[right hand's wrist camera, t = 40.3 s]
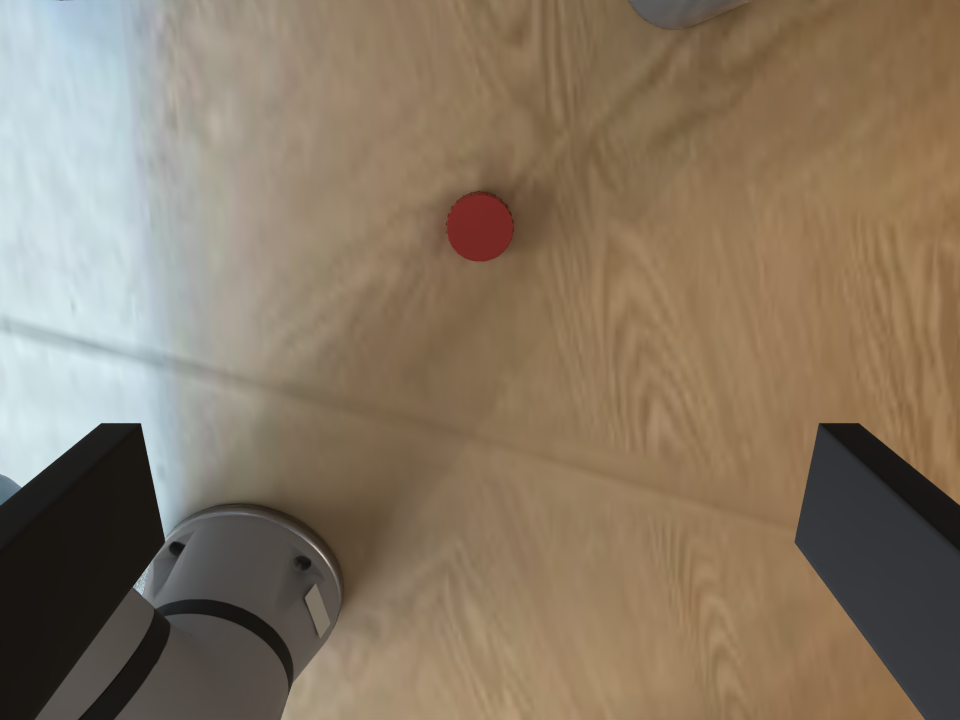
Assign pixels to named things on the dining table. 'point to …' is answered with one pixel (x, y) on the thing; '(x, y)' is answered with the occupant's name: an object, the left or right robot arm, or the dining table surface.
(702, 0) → the bottle
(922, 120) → the dining table surface
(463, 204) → the cap
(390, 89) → the dining table surface
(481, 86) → the dining table surface
